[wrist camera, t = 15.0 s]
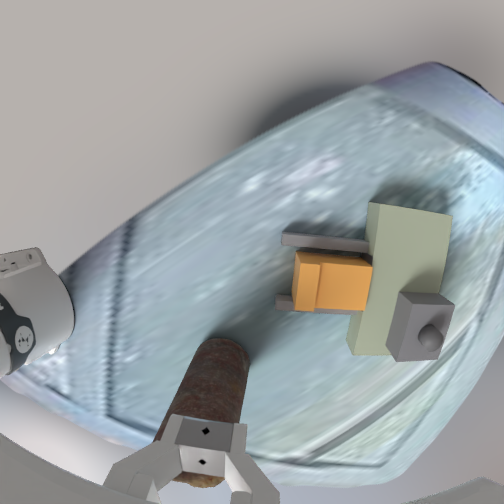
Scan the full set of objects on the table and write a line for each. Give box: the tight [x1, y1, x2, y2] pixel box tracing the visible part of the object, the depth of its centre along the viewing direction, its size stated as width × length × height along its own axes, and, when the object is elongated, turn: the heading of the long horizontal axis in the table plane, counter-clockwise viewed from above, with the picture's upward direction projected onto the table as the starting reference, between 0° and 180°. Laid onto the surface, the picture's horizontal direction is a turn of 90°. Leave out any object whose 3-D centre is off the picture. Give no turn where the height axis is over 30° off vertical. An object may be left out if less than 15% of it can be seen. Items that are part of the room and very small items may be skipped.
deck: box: [275, 202, 455, 362], centre depth 30 cm, size 20×18×10 cm
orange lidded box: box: [291, 251, 373, 311], centre depth 32 cm, size 8×5×6 cm, turn 86°
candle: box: [152, 338, 250, 488], centre depth 28 cm, size 8×7×20 cm
